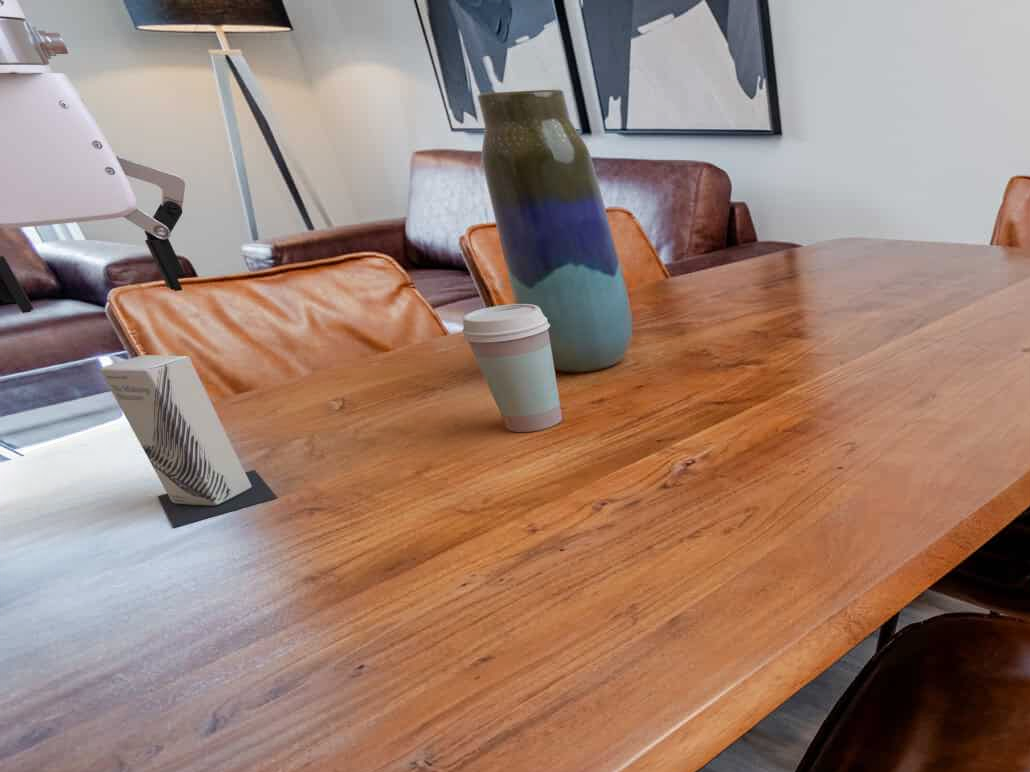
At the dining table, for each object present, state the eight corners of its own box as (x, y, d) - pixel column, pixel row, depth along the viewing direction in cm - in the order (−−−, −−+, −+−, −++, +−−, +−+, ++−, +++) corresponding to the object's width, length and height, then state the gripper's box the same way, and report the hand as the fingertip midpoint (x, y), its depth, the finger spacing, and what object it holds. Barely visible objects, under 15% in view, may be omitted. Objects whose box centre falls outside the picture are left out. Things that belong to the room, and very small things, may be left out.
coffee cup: (584, 408, 95) (556, 300, 89) (560, 434, 88) (528, 319, 81) (510, 412, 95) (477, 305, 89) (481, 439, 88) (442, 324, 81)
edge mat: (173, 528, 72) (173, 527, 72) (157, 496, 79) (157, 496, 79) (277, 497, 77) (277, 496, 77) (254, 470, 83) (254, 469, 83)
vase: (555, 387, 102) (473, 93, 86) (520, 365, 112) (440, 96, 95) (658, 362, 109) (601, 86, 93) (617, 344, 119) (559, 90, 102)
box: (171, 505, 76) (92, 368, 69) (212, 485, 80) (140, 353, 73) (219, 507, 76) (143, 368, 69) (258, 487, 79) (190, 353, 72)
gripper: (119, 53, 66) (220, 276, 76) (-199, 55, 56) (-39, 312, 66) (131, 48, 62) (236, 286, 71) (-214, 50, 52) (-39, 327, 61)
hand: (104, 298), depth 68 cm, fingers open, 9 cm apart
